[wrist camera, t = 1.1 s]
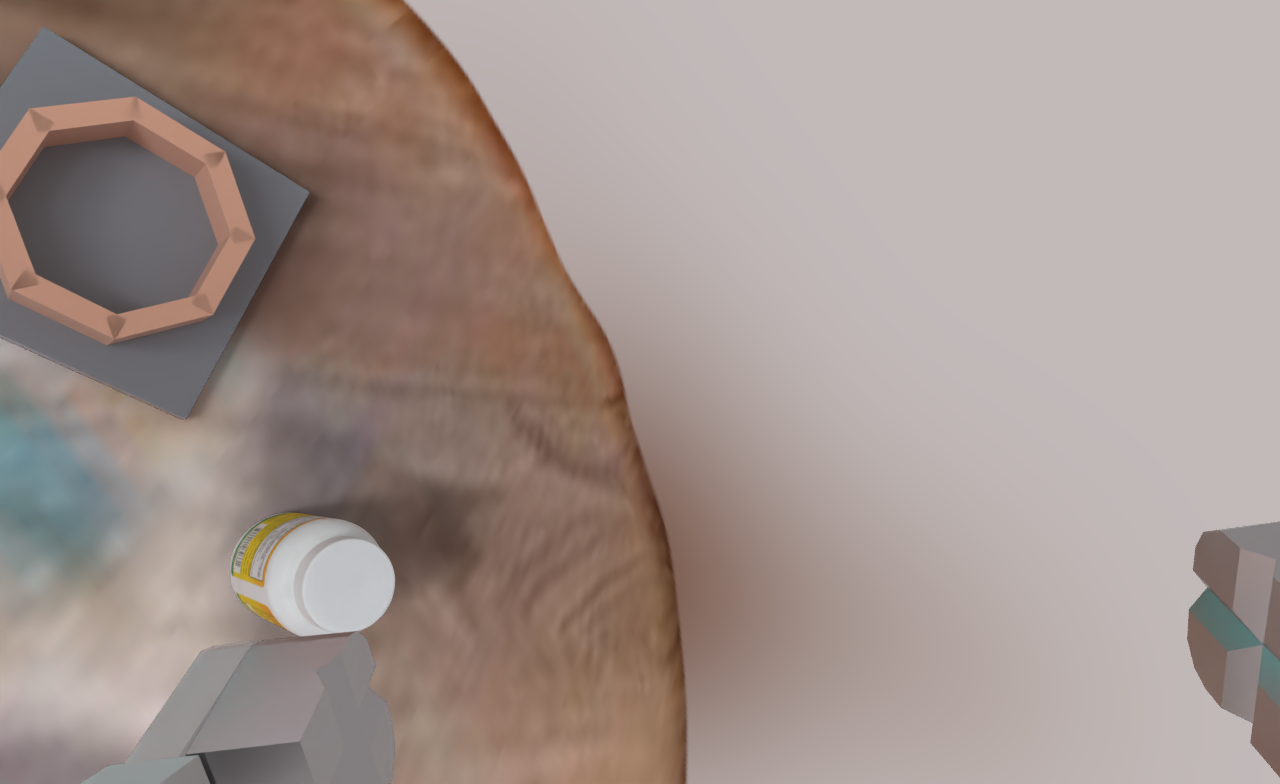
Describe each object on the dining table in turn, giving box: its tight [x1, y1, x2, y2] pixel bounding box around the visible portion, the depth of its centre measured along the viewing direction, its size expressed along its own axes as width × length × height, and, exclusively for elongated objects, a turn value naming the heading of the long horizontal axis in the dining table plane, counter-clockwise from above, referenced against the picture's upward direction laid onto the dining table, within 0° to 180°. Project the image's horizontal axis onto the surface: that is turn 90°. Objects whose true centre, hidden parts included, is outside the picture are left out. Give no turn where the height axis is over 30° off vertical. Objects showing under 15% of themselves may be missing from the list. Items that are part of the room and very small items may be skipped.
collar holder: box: [0, 27, 309, 420], centre depth 42 cm, size 13×13×4 cm
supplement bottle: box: [230, 512, 395, 636], centre depth 43 cm, size 5×5×10 cm
